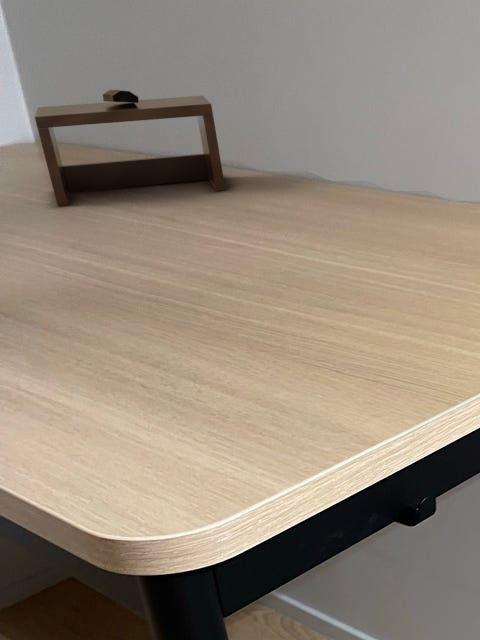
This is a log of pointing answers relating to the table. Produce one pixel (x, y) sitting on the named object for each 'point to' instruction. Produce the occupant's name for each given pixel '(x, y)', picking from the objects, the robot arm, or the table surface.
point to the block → (120, 96)
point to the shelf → (136, 169)
